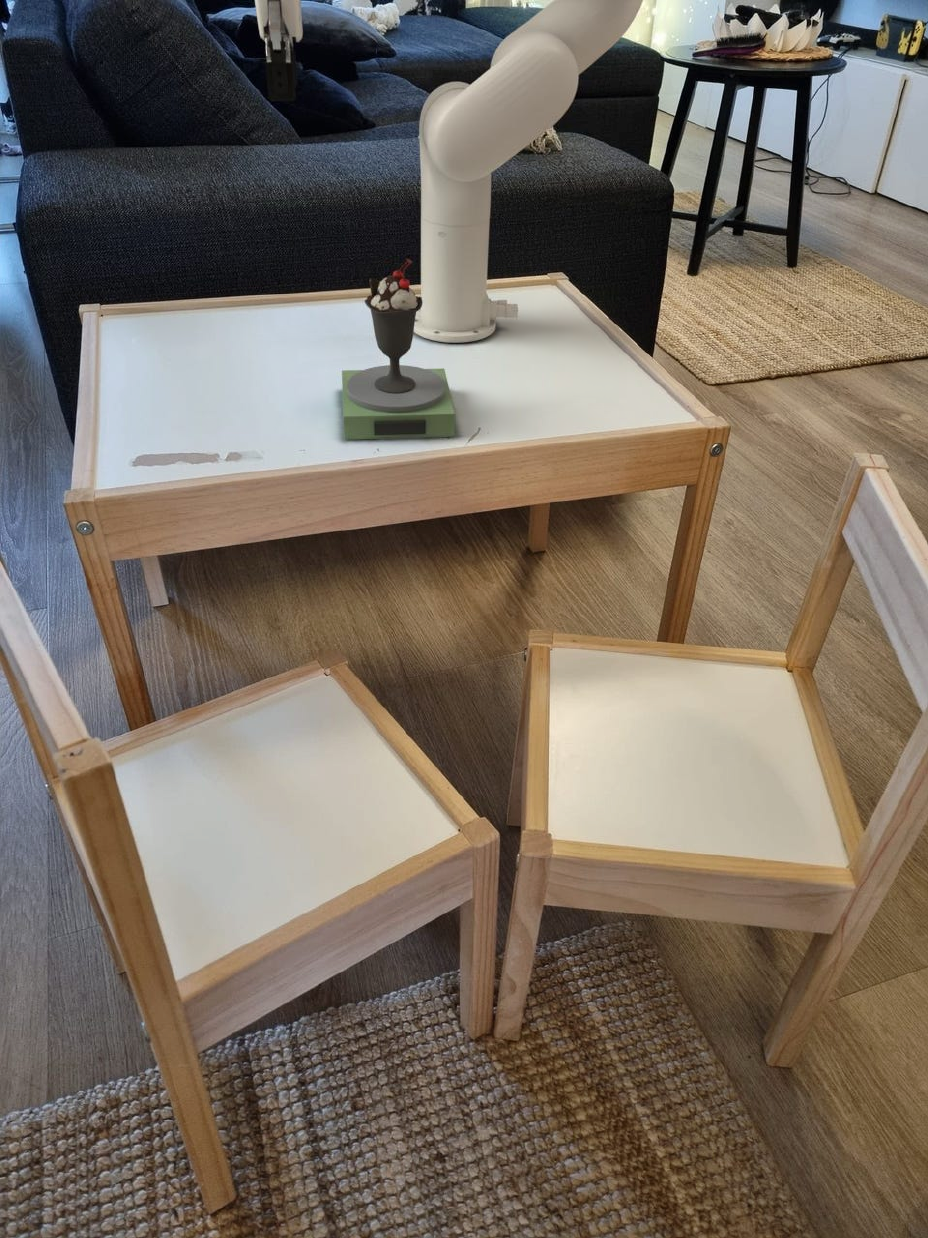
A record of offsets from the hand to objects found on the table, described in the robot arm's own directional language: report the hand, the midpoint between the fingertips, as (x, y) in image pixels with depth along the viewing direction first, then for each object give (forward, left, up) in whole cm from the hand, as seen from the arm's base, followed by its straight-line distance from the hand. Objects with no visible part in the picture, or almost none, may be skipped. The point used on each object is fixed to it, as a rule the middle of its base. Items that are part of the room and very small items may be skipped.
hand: (283, 93), depth 115 cm
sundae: (-12, +28, -27) cm, 40 cm away
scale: (-12, +28, -30) cm, 43 cm away
